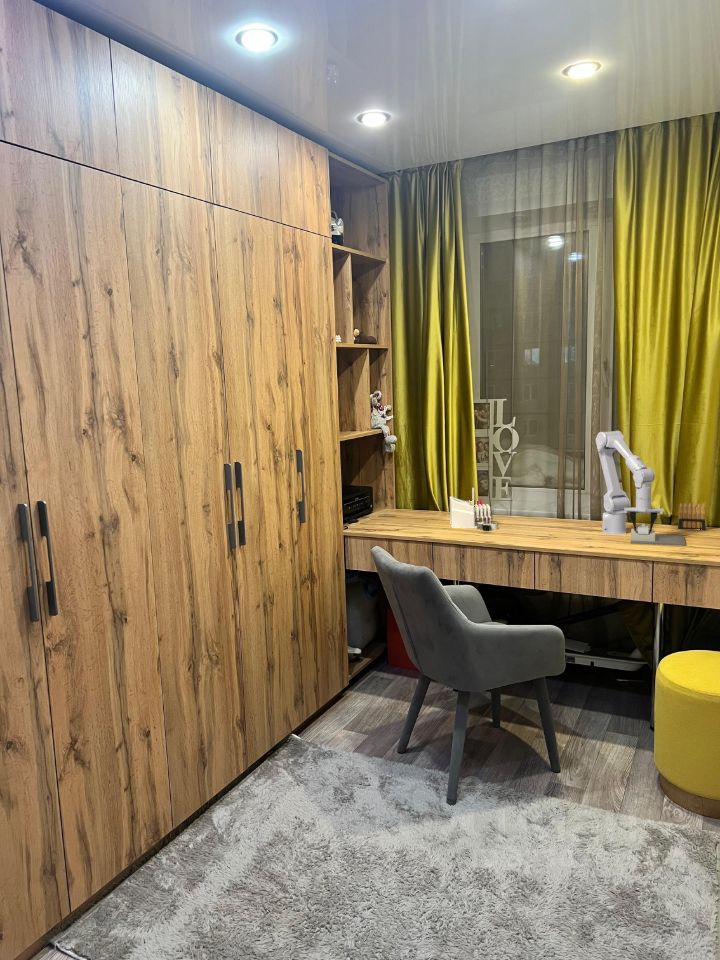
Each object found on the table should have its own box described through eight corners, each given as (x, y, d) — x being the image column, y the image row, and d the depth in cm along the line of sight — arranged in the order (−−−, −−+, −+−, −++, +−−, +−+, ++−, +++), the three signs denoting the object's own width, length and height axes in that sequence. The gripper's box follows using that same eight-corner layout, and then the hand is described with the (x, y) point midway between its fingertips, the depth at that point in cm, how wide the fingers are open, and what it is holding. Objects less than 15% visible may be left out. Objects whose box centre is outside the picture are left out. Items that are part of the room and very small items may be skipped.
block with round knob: (637, 540, 278) (637, 527, 277) (637, 534, 288) (637, 522, 287) (648, 540, 277) (648, 527, 276) (648, 535, 286) (648, 522, 285)
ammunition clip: (678, 530, 298) (678, 502, 296) (677, 529, 300) (678, 502, 298) (705, 531, 294) (706, 503, 292) (705, 530, 296) (706, 502, 294)
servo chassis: (630, 544, 277) (630, 535, 276) (631, 535, 291) (631, 527, 291) (685, 546, 269) (685, 538, 269) (683, 537, 284) (683, 529, 283)
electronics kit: (505, 532, 308) (504, 497, 306) (447, 534, 309) (446, 499, 307) (492, 513, 352) (491, 483, 350) (441, 515, 354) (441, 484, 352)
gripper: (624, 499, 279) (623, 531, 281) (663, 500, 273) (662, 533, 275) (624, 496, 285) (624, 528, 287) (662, 497, 280) (662, 529, 282)
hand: (642, 530), depth 282 cm, fingers open, 5 cm apart
